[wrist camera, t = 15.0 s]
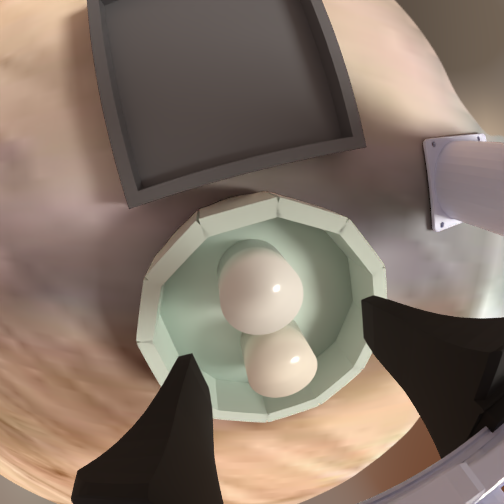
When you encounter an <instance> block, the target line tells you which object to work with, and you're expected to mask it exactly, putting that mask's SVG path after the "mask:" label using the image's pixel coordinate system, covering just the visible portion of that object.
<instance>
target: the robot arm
mask: <svg viewBox="0 0 504 504" xmlns="http://www.w3.org/2000/svg"><path fill="white" fill-rule="evenodd" d="M432 143H433V146H432ZM423 147H424V153H425V160H426V167H427V174H428V182H429V192H430V202H431V216H432V229H433V230H434V231H436V232H439V231H441V230H444V229H447V228H449V227H452V226H454V225H457V224H459V223H462V222H464V223H467V224H470V225H473V226H476V227H479V228H482V229H485V230H488V231H491V232H493V233H496V234H499V235H502V236H504V143H501V142H486V137H485V135H484V134H468V135H457V136H447V137H438V138H430V139H425V140H424V142H423ZM440 224H441V226H440ZM361 307H362V321H363V338H364V340H365V341H366V343H367V345H368V346H369V348H370V349H371V351H372V352H373V354H374V355H375V357H376V358H377V359H378V360H379V361H380V363H381V364H382V365H383V366H384V367H385V368H386V370H387V371H388V372H389V373H390V374H391V375H392V377H393V378H394V379H395V380H396V381H397V382H398V384H399V385H400V386H401V387H402V388H403V390H404V391H405V392H406V394H407V395H408V397H409V398H410V400H411V402H412V403H413V405H414V406H415V408H416V410H417V411H418V413H419V415H420V416H421V418H422V420H423V421H424V423H425V425H426V427H427V429H428V431H429V433H430V435H431V437H432V439H433V441H434V443H435V445H436V448H437V450H438V452H439V454H440V457H441V460H439V461H438V462H436V463H435V464H433V465H431V466H430V467H428V468H427V469H425V470H423V471H422V472H420V473H418V474H417V475H415V476H413V477H411V478H410V479H408V480H406V481H404V482H402V483H400V484H398V485H396V486H395V487H393V488H391V489H389V490H387V491H384V492H383V493H380V494H378V495H376V496H374V497H372V498H369V499H367V500H365V501H363V502H360V503H358V504H504V493H503V491H502V490H501V487H502V486H503V485H504V317H503V318H486V319H478V318H461V317H453V316H447V315H441V314H436V313H432V312H428V311H424V310H420V309H416V308H413V307H410V306H407V305H403V304H400V303H397V302H394V301H391V300H388V299H385V298H382V297H379V296H375V295H372V296H370V297H367V298H365V299H362V300H361ZM71 501H72V503H73V504H223V500H222V495H221V491H220V486H219V481H218V476H217V471H216V465H215V458H214V442H213V412H212V403H211V397H210V391H209V387H208V385H207V383H206V381H205V379H204V377H203V375H202V372H201V370H200V368H199V366H198V364H197V362H196V360H195V358H194V356H193V353H191V354H186V355H182V356H178V358H177V360H176V361H175V363H174V365H173V367H172V369H171V370H170V372H169V374H168V376H167V378H166V380H165V381H164V383H163V385H162V386H161V388H160V390H159V392H158V393H157V395H156V396H155V398H154V399H153V401H152V402H151V404H150V405H149V407H148V408H147V410H146V411H145V412H144V414H143V415H142V416H141V417H140V419H139V420H138V421H137V422H136V423H135V425H134V426H133V427H132V428H131V429H130V430H129V431H128V432H127V433H126V434H125V435H124V436H123V437H122V438H121V439H120V440H119V441H118V442H117V443H116V444H114V445H113V446H112V447H111V448H110V449H109V450H107V451H106V452H105V453H103V454H102V455H101V456H99V457H98V458H97V459H95V460H94V461H92V462H91V463H89V464H87V465H86V466H84V467H83V468H81V469H79V470H78V471H77V475H76V479H75V483H74V487H73V491H72V496H71Z"/></svg>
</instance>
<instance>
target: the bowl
mask: <svg viewBox="0 0 504 504" xmlns="http://www.w3.org/2000/svg"><path fill="white" fill-rule="evenodd" d="M247 239H258V240H263V241H266V242H268V243H270V244H271V245H273V246H274V247H275V248H276V249H277V250H278V251H279V252H280V254H281V255H282V256H283V257H284V258H285V260H286V261H287V262H288V263H289V265H290V266H291V267H292V268H293V269H294V271H295V272H296V273H297V274H298V276H299V278H300V280H301V282H302V286H303V302H302V305H301V308H300V310H299V312H298V313H297V315H296V316H295V318H294V319H293V320H294V321H295V322H296V323H297V325H298V327H299V328H300V330H301V332H302V334H303V335H304V337H305V339H306V341H307V342H308V344H309V346H310V348H311V349H312V351H313V353H314V355H315V357H316V359H317V371H316V374H315V376H314V377H313V379H312V380H311V382H310V383H309V384H308V385H307V386H306V387H304V388H303V389H302V390H300V391H298V392H296V393H294V394H292V395H289V396H285V397H279V398H271V397H266V396H262V395H260V394H258V393H257V392H255V391H254V390H253V389H252V388H251V386H250V384H249V382H248V377H247V373H246V369H245V364H244V360H243V355H242V351H241V346H240V337H241V333H242V332H241V331H239V330H237V329H235V328H234V327H233V326H232V325H230V324H229V322H228V321H227V320H226V319H225V317H224V315H223V313H222V310H221V306H220V298H219V289H218V281H217V267H218V263H219V260H220V258H221V256H222V255H223V254H224V252H225V251H226V250H227V249H228V248H229V247H231V246H232V245H234V244H235V243H237V242H240V241H243V240H247ZM384 266H385V265H384V264H383V262H382V261H381V260H380V258H379V257H378V255H377V254H376V253H375V251H374V250H373V249H372V247H371V246H370V245H369V243H368V242H367V241H366V239H365V238H364V237H363V235H362V234H361V233H360V232H359V230H358V229H357V228H356V226H355V225H354V224H353V223H352V221H351V220H350V219H348V218H347V217H345V216H343V215H340V214H338V213H335V212H333V211H330V210H328V209H325V208H323V207H320V206H316V205H313V204H310V203H306V202H303V201H300V200H297V199H294V198H291V197H287V196H283V195H279V194H276V193H272V192H268V191H266V192H265V191H261V192H257V193H253V194H245V195H240V196H236V197H231V198H228V199H225V200H222V201H219V202H217V203H214V204H212V205H210V206H207V207H204V208H200V211H198V210H197V211H196V212H195V213H194V214H193V215H192V216H191V217H190V219H188V220H187V221H186V222H185V223H184V224H183V225H182V226H181V227H180V228H179V229H178V230H177V231H176V232H175V233H174V234H173V236H172V237H171V238H170V239H169V241H168V242H167V243H166V245H165V246H164V247H163V248H162V249H161V250H160V251H159V252H158V253H157V255H156V256H155V257H154V259H153V261H152V263H151V265H150V267H149V269H148V271H147V273H146V275H145V277H144V280H143V287H142V294H141V301H140V309H139V318H138V327H137V337H136V341H137V345H138V347H139V349H140V351H141V352H142V354H143V356H144V358H145V360H146V362H147V363H148V365H149V367H150V369H151V370H152V372H153V374H154V376H155V377H156V379H157V381H158V382H159V384H160V386H162V385H163V383H164V381H165V380H166V378H167V376H168V374H169V372H170V370H171V369H172V367H173V365H174V363H175V361H176V360H177V358H178V356H182V355H186V354H191V353H193V356H194V358H195V360H196V362H197V364H198V366H199V368H200V370H201V372H202V375H203V377H204V379H205V381H206V383H207V385H208V387H209V391H210V397H211V403H212V412H213V419H222V420H233V421H247V422H266V421H267V420H268V422H271V421H274V420H277V419H281V418H284V417H287V416H290V415H294V414H297V413H300V412H303V411H306V410H309V409H311V408H314V407H317V406H319V404H323V403H324V402H325V401H326V400H328V399H329V398H330V397H331V396H333V395H334V394H335V393H336V392H338V391H339V390H340V389H341V388H343V387H344V386H345V385H346V384H347V383H349V382H350V381H351V380H352V379H353V378H354V377H356V376H357V375H358V374H359V373H360V372H361V371H362V370H361V369H364V367H365V365H366V363H367V362H368V360H369V358H370V356H371V354H372V351H371V349H370V348H369V346H368V345H367V343H366V341H365V340H364V338H363V321H362V307H361V300H362V299H365V298H367V297H370V296H372V295H375V296H379V297H382V298H385V299H387V286H386V268H385V267H384Z"/></svg>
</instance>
